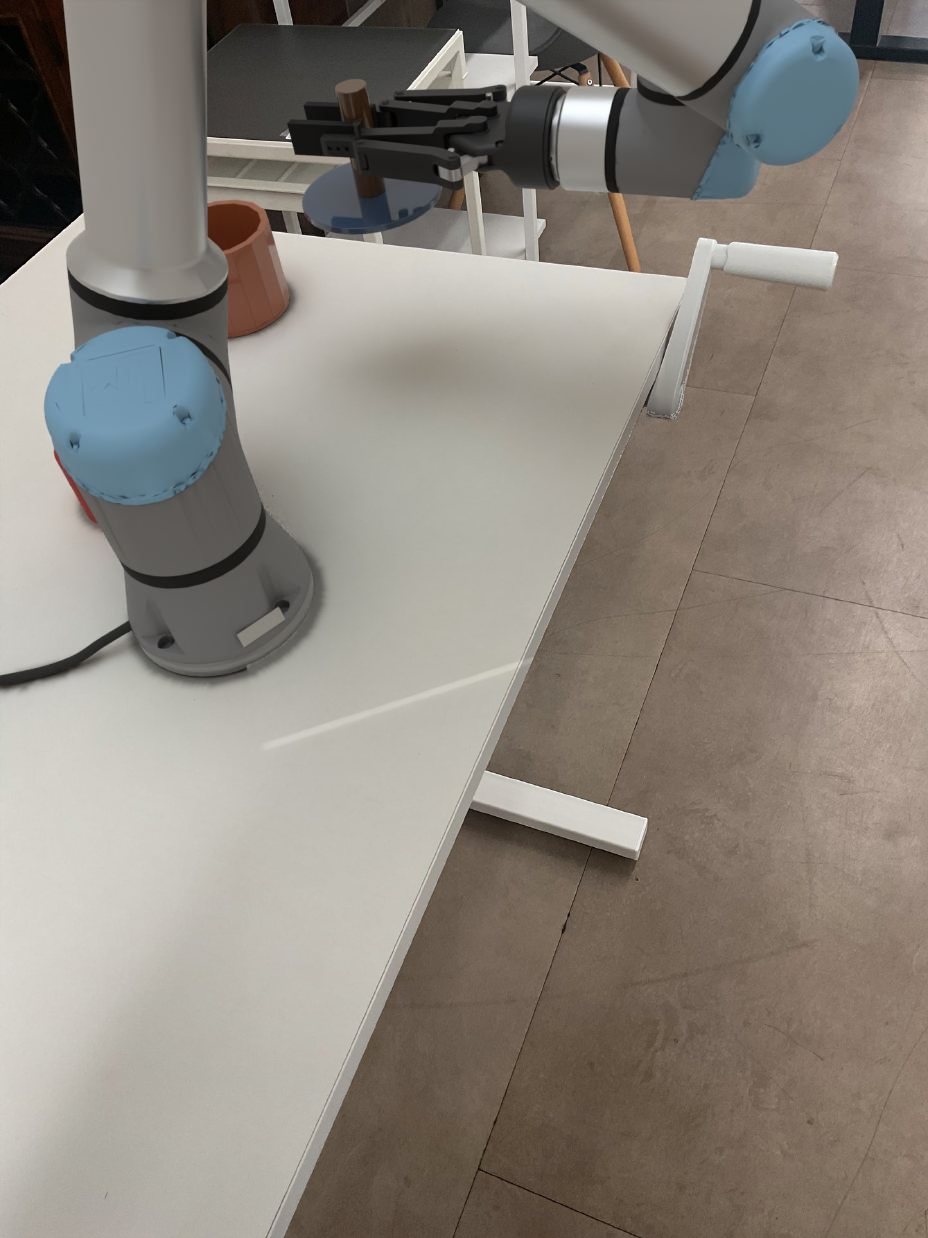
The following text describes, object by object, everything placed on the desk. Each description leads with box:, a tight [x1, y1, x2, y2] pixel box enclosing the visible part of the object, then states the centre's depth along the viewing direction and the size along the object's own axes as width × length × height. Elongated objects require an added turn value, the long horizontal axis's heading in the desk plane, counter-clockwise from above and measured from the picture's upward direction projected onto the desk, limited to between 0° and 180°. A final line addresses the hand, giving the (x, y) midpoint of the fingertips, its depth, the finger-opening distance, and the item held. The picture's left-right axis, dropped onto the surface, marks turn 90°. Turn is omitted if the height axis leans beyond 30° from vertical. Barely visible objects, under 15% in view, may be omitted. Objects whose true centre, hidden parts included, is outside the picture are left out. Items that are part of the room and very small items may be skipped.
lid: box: [301, 78, 443, 236], centre depth 87 cm, size 13×13×10 cm
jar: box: [207, 199, 291, 339], centre depth 110 cm, size 12×12×10 cm
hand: (301, 127), depth 87 cm, fingers closed on lid, 3 cm apart
